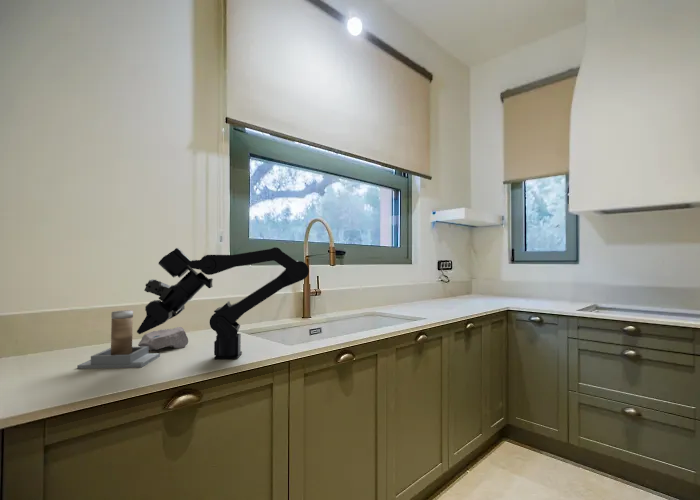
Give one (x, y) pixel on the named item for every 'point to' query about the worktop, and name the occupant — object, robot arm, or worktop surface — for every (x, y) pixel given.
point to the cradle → (120, 359)
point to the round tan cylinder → (121, 332)
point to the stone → (165, 339)
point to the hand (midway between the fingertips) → (143, 329)
